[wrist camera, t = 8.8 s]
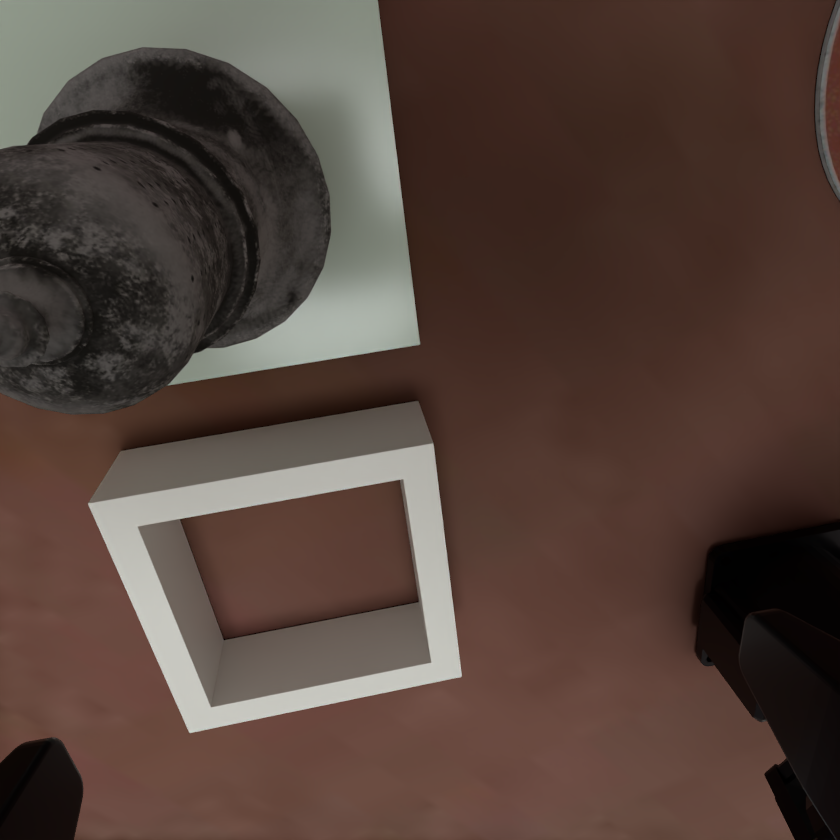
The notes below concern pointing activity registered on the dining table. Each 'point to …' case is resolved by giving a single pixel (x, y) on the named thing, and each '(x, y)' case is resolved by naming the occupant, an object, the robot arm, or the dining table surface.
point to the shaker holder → (265, 483)
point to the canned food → (829, 102)
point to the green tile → (307, 101)
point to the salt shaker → (151, 228)
